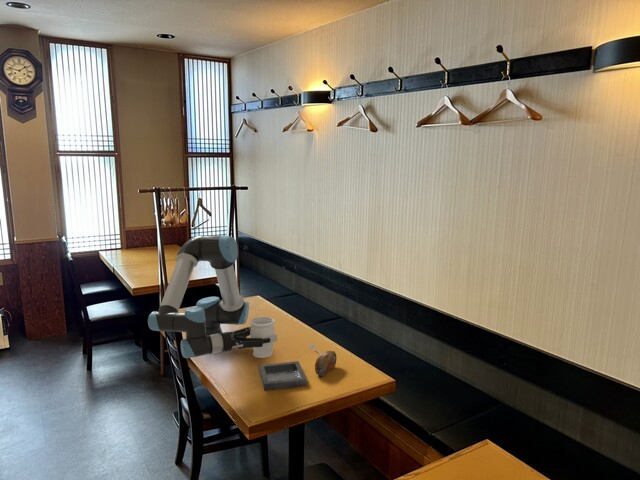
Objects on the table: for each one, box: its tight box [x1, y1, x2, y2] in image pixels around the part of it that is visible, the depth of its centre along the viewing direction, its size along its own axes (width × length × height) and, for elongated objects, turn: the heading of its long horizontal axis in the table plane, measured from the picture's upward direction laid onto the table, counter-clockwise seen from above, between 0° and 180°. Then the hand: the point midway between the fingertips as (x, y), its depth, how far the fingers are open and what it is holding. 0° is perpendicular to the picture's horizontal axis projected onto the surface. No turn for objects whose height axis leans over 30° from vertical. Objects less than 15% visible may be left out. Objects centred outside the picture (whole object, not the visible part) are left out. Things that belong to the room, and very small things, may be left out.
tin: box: [314, 350, 337, 377], centre depth 205 cm, size 15×3×8 cm, turn 148°
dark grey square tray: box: [258, 360, 308, 392], centre depth 198 cm, size 18×18×3 cm
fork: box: [307, 342, 323, 357], centre depth 223 cm, size 3×24×2 cm, turn 24°
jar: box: [249, 316, 276, 359], centre depth 194 cm, size 11×10×15 cm
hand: (271, 333), depth 196 cm, fingers closed on jar, 10 cm apart
